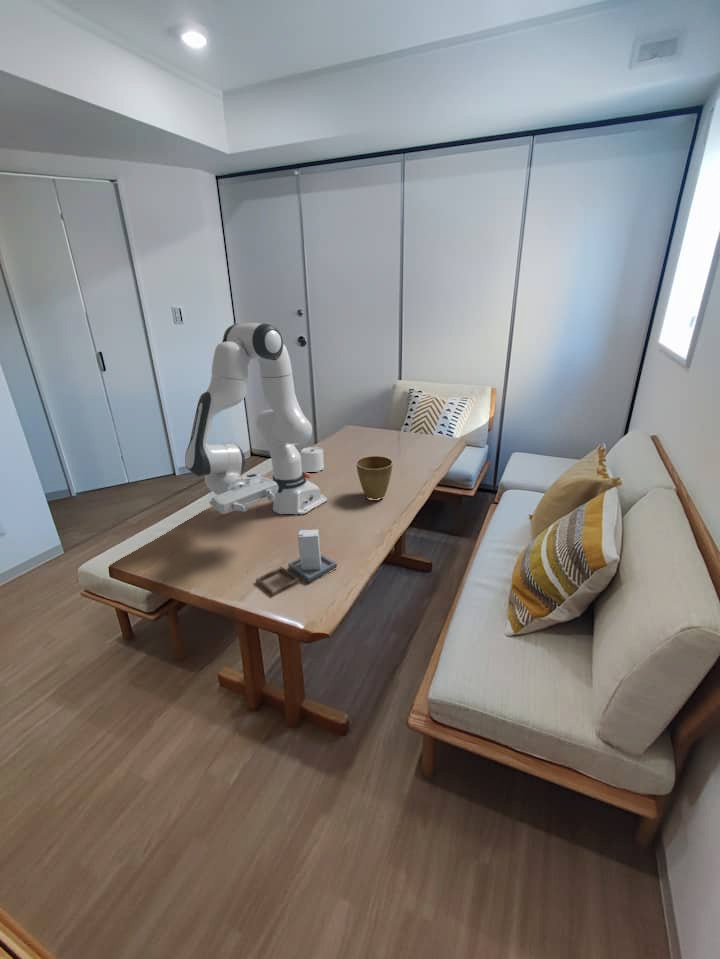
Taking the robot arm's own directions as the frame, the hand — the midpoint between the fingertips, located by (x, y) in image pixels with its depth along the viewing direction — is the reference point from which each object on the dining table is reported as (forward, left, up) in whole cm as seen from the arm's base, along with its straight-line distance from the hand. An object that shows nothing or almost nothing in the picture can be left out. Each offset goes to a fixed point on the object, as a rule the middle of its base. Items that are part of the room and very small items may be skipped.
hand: (259, 503), depth 128 cm
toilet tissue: (-60, -52, -21) cm, 82 cm away
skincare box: (-7, +14, -20) cm, 25 cm away
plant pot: (-58, -8, -21) cm, 62 cm away
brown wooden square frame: (+4, +12, -20) cm, 24 cm away
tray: (-7, +14, -20) cm, 26 cm away
